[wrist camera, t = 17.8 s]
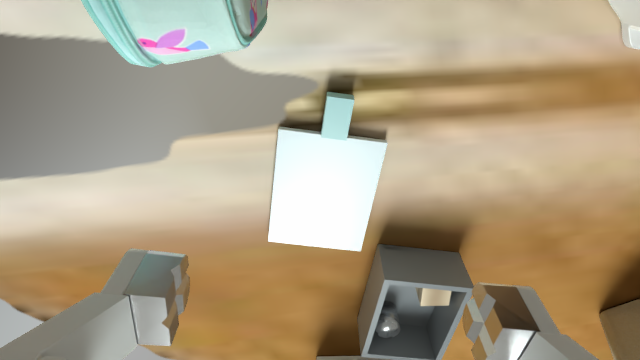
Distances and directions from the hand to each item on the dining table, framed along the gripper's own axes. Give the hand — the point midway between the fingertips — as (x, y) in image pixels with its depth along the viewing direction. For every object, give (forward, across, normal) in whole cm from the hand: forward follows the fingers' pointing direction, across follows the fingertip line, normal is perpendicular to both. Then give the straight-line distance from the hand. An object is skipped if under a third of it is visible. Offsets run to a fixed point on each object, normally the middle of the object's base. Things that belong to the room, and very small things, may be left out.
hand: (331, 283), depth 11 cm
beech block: (+35, -20, +32) cm, 52 cm away
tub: (+36, -17, +36) cm, 54 cm away
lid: (+36, -2, +18) cm, 40 cm away
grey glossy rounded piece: (+35, -14, +40) cm, 55 cm away
